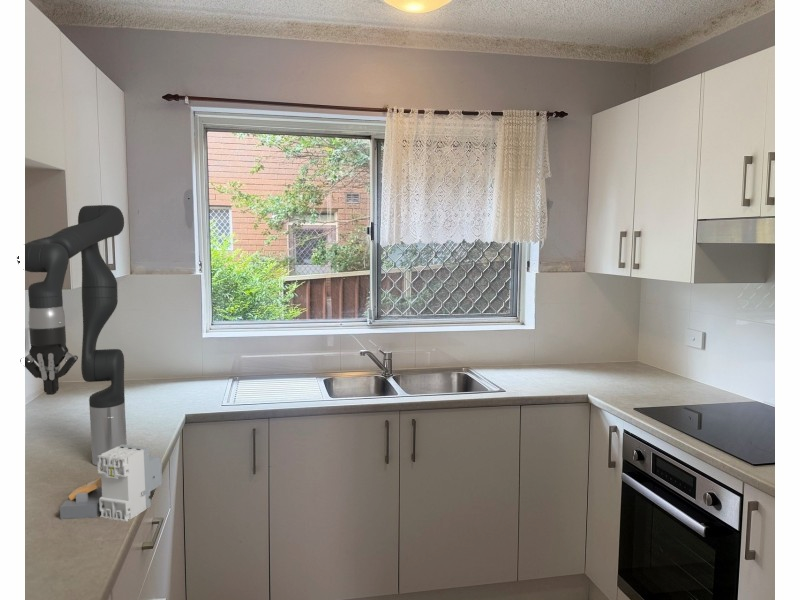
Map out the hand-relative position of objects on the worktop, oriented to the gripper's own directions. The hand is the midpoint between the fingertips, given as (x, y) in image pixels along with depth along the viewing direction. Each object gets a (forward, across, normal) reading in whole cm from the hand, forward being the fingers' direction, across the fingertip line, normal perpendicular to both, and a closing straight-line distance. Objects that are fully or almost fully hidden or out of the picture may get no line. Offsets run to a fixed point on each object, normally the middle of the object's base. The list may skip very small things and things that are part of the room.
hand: (51, 393), depth 142 cm
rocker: (+23, -10, +7) cm, 26 cm away
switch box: (+27, -10, +7) cm, 29 cm away
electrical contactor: (+27, -21, +7) cm, 35 cm away
